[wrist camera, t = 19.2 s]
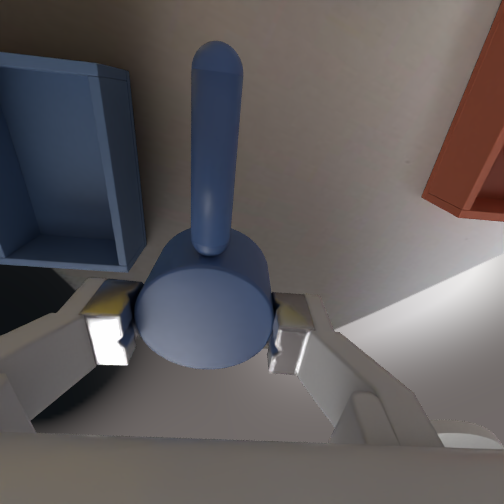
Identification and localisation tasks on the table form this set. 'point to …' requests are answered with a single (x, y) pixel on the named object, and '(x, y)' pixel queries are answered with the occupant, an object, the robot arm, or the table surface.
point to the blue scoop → (209, 241)
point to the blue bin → (68, 165)
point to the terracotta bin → (475, 141)
